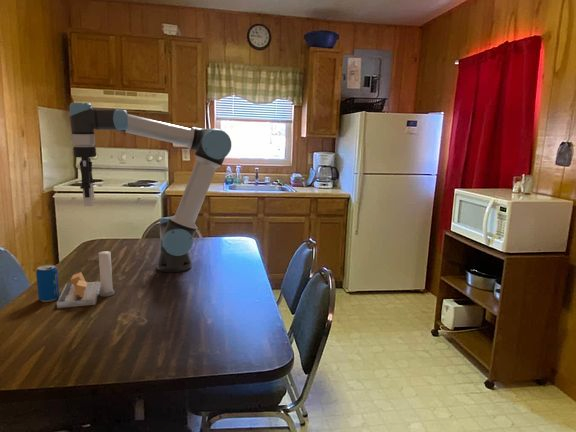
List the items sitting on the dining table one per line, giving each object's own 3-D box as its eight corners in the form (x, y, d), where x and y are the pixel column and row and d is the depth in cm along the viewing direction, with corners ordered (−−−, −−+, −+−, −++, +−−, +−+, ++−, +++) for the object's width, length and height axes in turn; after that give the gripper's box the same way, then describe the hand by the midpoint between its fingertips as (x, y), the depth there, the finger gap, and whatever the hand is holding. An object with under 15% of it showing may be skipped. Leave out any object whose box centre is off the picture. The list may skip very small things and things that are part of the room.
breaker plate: (100, 286, 162) (100, 280, 162) (95, 304, 145) (95, 298, 145) (66, 289, 158) (65, 283, 158) (57, 308, 142) (56, 301, 141)
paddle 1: (86, 282, 158) (81, 271, 157) (84, 287, 153) (78, 276, 152) (78, 285, 158) (73, 274, 156) (76, 290, 153) (70, 280, 151)
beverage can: (50, 303, 145) (47, 270, 142) (34, 301, 146) (31, 269, 144) (63, 296, 151) (61, 265, 149) (48, 294, 152) (45, 263, 150)
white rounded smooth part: (115, 290, 158) (112, 250, 155) (114, 296, 153) (111, 254, 150) (100, 292, 156) (97, 251, 153) (98, 297, 151) (96, 255, 148)
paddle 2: (83, 293, 150) (87, 281, 150) (81, 299, 145) (85, 287, 145) (75, 291, 149) (79, 279, 149) (72, 297, 144) (76, 285, 144)
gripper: (76, 144, 163) (81, 198, 167) (69, 147, 140) (75, 209, 145) (97, 144, 166) (101, 197, 170) (93, 147, 143) (98, 208, 148)
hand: (89, 203), depth 157 cm, fingers open, 13 cm apart
